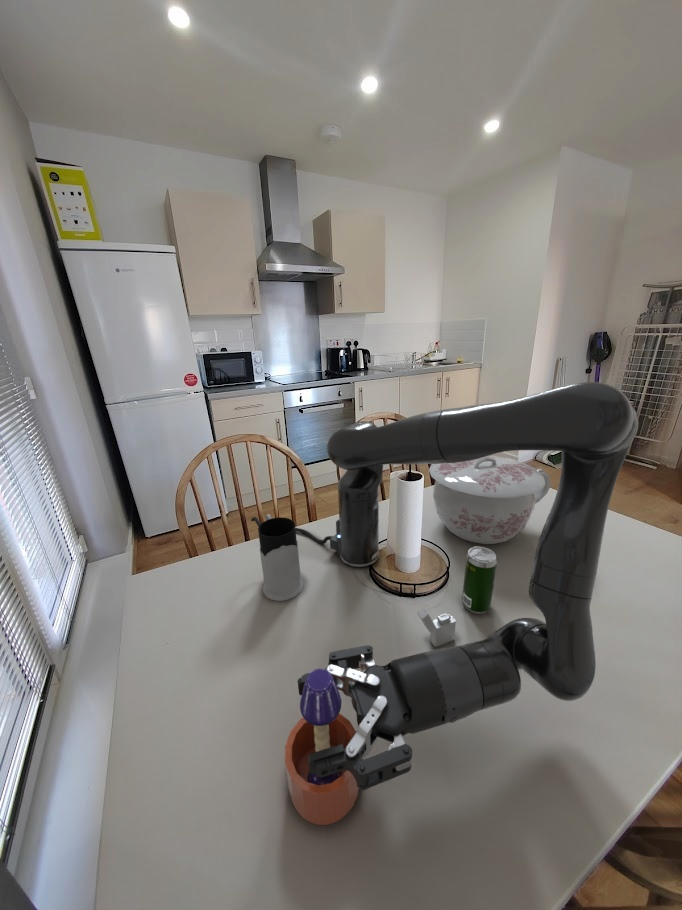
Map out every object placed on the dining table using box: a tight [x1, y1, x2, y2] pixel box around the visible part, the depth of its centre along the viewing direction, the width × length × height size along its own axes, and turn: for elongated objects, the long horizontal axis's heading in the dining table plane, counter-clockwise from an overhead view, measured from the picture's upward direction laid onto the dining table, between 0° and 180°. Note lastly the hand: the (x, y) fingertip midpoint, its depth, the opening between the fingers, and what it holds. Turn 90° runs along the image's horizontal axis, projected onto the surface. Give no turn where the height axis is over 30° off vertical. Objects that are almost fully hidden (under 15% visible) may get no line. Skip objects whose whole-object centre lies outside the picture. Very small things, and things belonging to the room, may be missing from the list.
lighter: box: [416, 607, 457, 648], centre depth 61 cm, size 7×2×8 cm, turn 111°
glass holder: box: [257, 513, 304, 602], centre depth 77 cm, size 9×14×15 cm, turn 24°
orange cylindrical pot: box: [284, 712, 360, 826], centre depth 43 cm, size 9×9×6 cm
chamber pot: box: [428, 454, 552, 545], centre depth 92 cm, size 28×28×21 cm
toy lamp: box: [299, 668, 342, 785], centre depth 41 cm, size 5×5×17 cm
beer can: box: [461, 546, 498, 615], centre depth 69 cm, size 5×5×12 cm
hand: (303, 722), depth 40 cm, fingers open, 8 cm apart
